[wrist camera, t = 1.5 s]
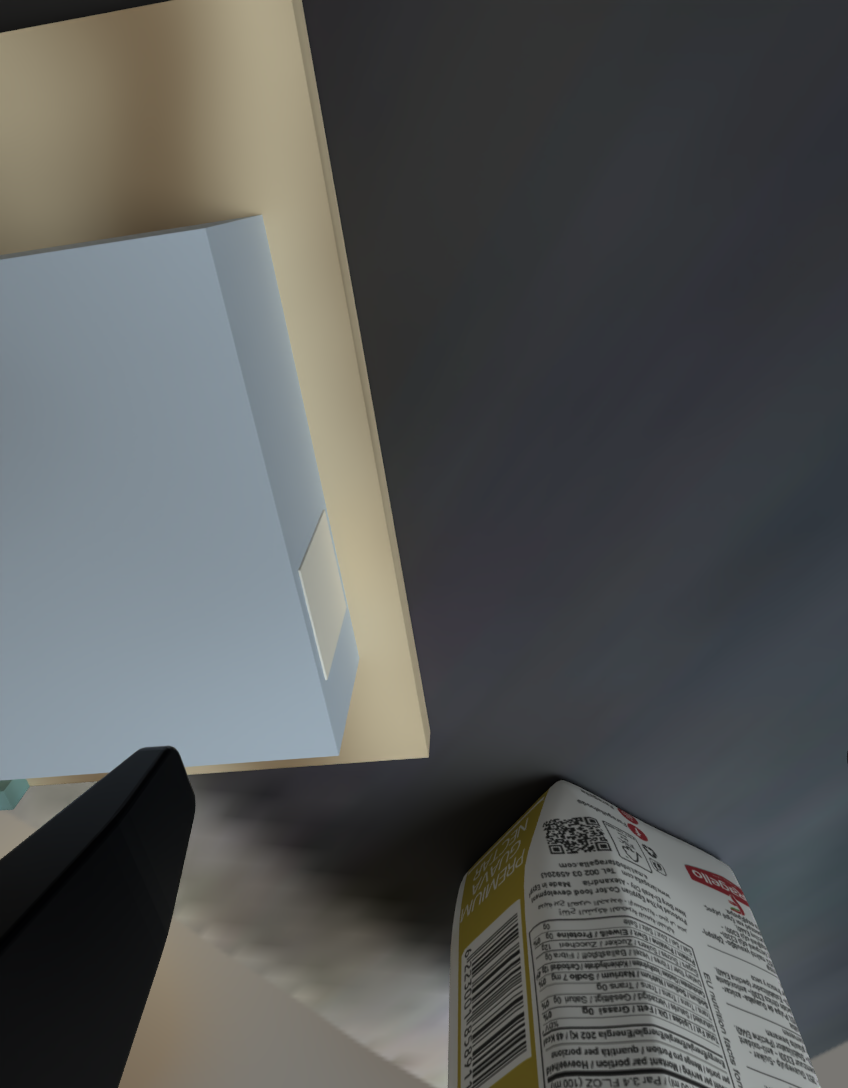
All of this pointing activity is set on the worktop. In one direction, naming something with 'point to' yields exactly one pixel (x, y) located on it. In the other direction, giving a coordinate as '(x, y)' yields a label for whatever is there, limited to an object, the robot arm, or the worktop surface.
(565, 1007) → the juice carton
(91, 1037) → the robot arm
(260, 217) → the carton
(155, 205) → the display board
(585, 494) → the worktop surface
